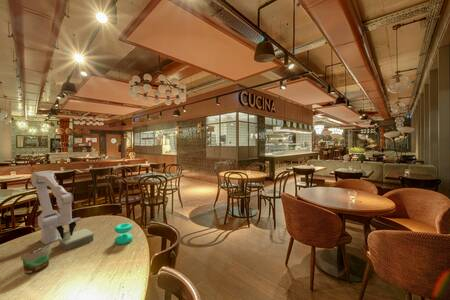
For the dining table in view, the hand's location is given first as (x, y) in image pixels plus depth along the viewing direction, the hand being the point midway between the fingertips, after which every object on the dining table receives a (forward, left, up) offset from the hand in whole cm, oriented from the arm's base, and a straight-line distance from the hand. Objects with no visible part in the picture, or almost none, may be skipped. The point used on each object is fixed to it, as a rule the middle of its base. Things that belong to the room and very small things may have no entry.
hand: (66, 236), depth 122 cm
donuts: (+23, +22, -6) cm, 32 cm away
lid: (0, +5, -2) cm, 5 cm away
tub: (0, +5, -6) cm, 8 cm away
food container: (+15, -16, -6) cm, 23 cm away
